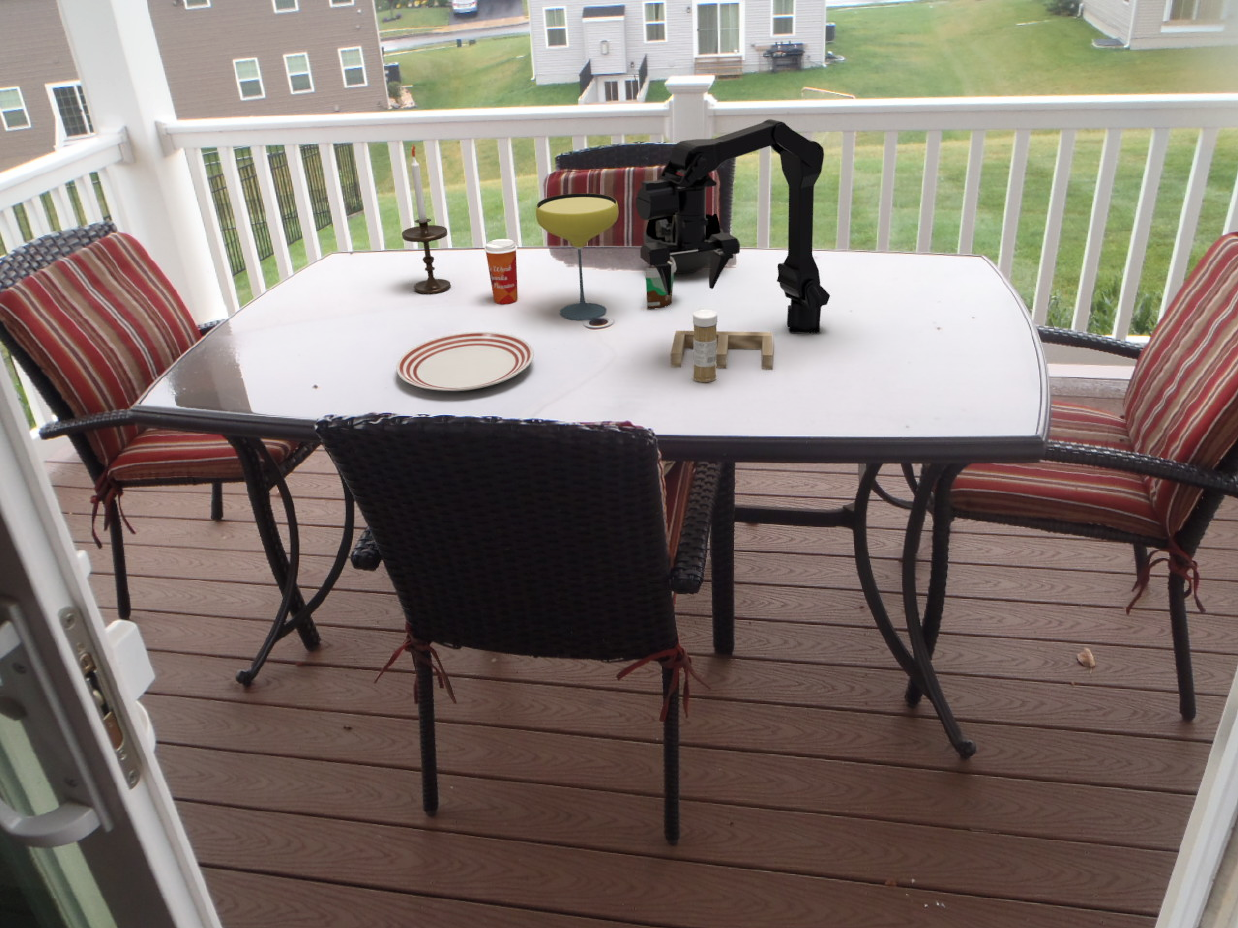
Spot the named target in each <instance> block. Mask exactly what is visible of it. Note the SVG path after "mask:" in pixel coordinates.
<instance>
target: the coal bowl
mask: <svg viewBox="0 0 1238 928" xmlns="http://www.w3.org/2000/svg"><path fill="white" fill-rule="evenodd" d="M674 215H675V213H674ZM665 219H666V220H667V222H668V224H669V223H672V222H673V215H672V216H667V217H661V218H655V219H650V220H647V221H648V222H647V225H646V230H645V231H644V233H643V238H644V239H643V240H644V244H645V243H653V242H661V243H662V244H664V245H665V246H673V245H675V243H672V242H670V241H666V240H665V237H657V235H656V221H658V220H665ZM706 219H708V225H706V226H705V240H707V241H710V237H711V235H713V234H721V233H725V232H724V230H723V228H721V225H720V220H719V215H718V214H717V213H714V214H712V215H711V214H708V213H706ZM681 250H684V249H681ZM671 257H672V258H673V259H674V261H675V263H676V268H677V270H676V271H675V272H674V273H678V274H689V273H694V272H697V271H699V270H701V269H703V268H705V267H706V266H708V265H710V256H709V252H708V251H704V252H697V253H690V254H683V255H675V256H671Z"/></svg>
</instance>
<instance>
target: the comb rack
mask: <svg viewBox="0 0 1238 928" xmlns="http://www.w3.org/2000/svg"><path fill="white" fill-rule="evenodd" d="M773 336H774V335H773V331H770V332H769V331H727V330H726V331H724V330H723V331H722V330H721V331H720V330H719V331H718V330H716V338H717V350H716V369H727V362H728V353H729V349H731V350H737V349H738V350H761V370H773V361H774V359H773V358H774V357H773V356H774V352H773V349H774V348H773V346H774V345H773V344H774V343H773ZM693 340H694V330H675V333H674V338H673V343H672V346H671V351H670V368H682V363H683V359H684V353H685V349H694V345H693Z"/></svg>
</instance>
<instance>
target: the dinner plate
mask: <svg viewBox="0 0 1238 928" xmlns="http://www.w3.org/2000/svg"><path fill="white" fill-rule="evenodd" d="M534 355H535V354H534V349H533V347H532V345H531V344H530V343H529V342H528V341H527V340H525V339H524V338H521V337H519V336H516V335H513V334H509V333H503V332H496V331H468V332H460V333H459V332H458V333H452V334H447V335H443V336H440V337H435V338H433V339H429V340H427V341H424V342H422V343H420V344H418V345H416V346H414V347H412V348H411V349H409V350H408V351H406V352H405V353H404V354H403V355H401V357H400V358H399V360H398V361H397V363H396V373H397V375H398V376H399V378H400V379H401V380H403V381H404V382H405V383H407V384H409V385H412V386H415V387H418V388H421V389H424V390H425V389H426V390H434V391H442V392H443V391H445V392H460V391H470V390H471V391H472V390H476V389H482V388H487V387H490V386H495V385H497V384H500V383H503V382H506V381H507V380H510V379H512V378H513V377H515V376H517V375H519V374H520V373H522V372H523V371H524V370H525V369H527V368H528V367H529V365H531V363H532V361H533V359H534Z"/></svg>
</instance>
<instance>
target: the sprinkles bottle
mask: <svg viewBox="0 0 1238 928" xmlns="http://www.w3.org/2000/svg"><path fill="white" fill-rule="evenodd" d="M692 323H693V331H694V340H693V345H694V348H693V355H692V356H693V376H692V377H693V380H695V381H696V382H699V383H711V382H713V381H714V380H716V378H717V374H716V373H717V371H716V370H717V368H716V353H717V338H716V331H717V324H718V313H717V312H716V311H714V310H712V309H699V310H696V311H694V312H693V314H692Z"/></svg>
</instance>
